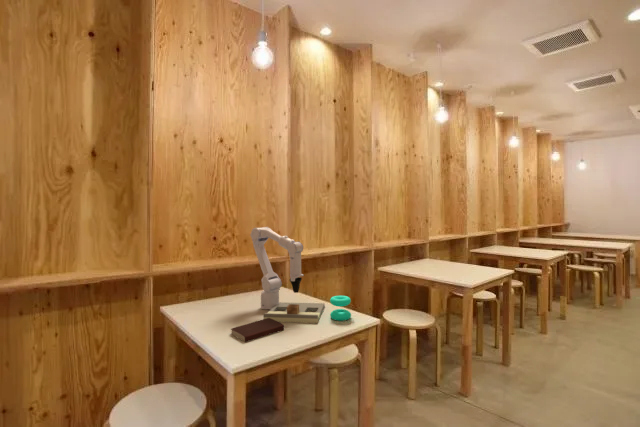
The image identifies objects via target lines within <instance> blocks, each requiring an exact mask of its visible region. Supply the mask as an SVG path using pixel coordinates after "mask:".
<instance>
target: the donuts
mask: <svg viewBox="0 0 640 427" xmlns="http://www.w3.org/2000/svg"><path fill="white" fill-rule="evenodd" d="M329 302H330V304H331V305H333V306H335V307H339V308H337V309H334V310H332V311H331V312H330V314H329V315H330V318H331V319H332V320H334V321H339V322H341V321H342V322H343V321H347V320H350V319H351V316H352V313H351V312H350V311H349V310H348V309H343V308H340V307H346V306H349V305H350V304H351V302H352V300H351V298H350V296H347V295H334V296H331V298H330V299H329Z"/></svg>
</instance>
